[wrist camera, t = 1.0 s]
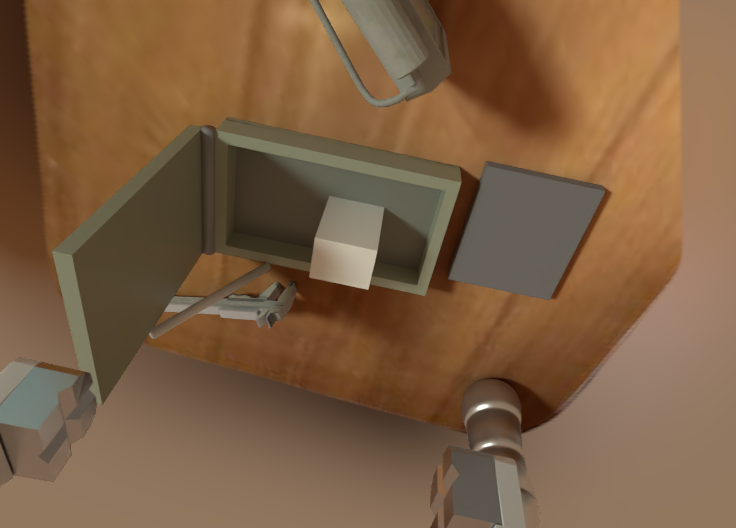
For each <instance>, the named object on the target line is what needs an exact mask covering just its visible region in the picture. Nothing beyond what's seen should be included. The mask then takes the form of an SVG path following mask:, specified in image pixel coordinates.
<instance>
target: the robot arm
mask: <svg viewBox="0 0 736 528" xmlns="http://www.w3.org/2000/svg"><path fill="white" fill-rule="evenodd" d="M92 384H93V380H92V376H91V373H89V372H84V371H80V370H75V369H71V368H67V367H62V366H58V365H53V364H49V363H45V362H41V361H36V360H31V359H26V358H21V357H19V358H18V359H16V360H14V361H12V362H11V363H10V364H9V365H8V366H7V367H6V368H5V369H4V370H3V371H2V372H1V373H0V486H2V485H3V484H5V483H6V482H8V481H9V480H11V479H12V478H13V475H15V476H21V477H27V478H33V479H38V480H44V481H50V482H54V481H55V479H56V478H57V476H58V475H59V473H60V472H61V470H62V469H63V467H64V466H65V464H66V463H67V461H68V460H69V458H70V457H71V455H72V452H71V444H73V443H74V442H76V441H78V440H80V439H81V438H83V437H84V436H85V434H86V433H87V431H88V430H89V428H90V426H91V424H92V422H93V419H94V416H95V414H96V406H97V402H96V396H95V395H94V394H93V393H92V392H91V391H90V390H89V388H90V387H91V385H92ZM430 508H431V509H432V511H433V513H434V514H435V516H436V517H435V519H434V521H433V523H432V525H431V527H430V528H527V526H526V520H525V514H524V508H523V502H522V496H521V490H520V483H519V477H518V471H517V465H516V463H515V461H514V459H512V458H507V457H502V456H497V455H491V454H490V453H485V452H480V451H474V450H469V449H464V448H459V447H453V446H448V447H446V449H445V451H444V453H443V464H441V465H439V466H437V468H436V471H435V473H434V476H433V481H432V485H431V496H430Z"/></svg>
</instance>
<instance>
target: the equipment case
mask: <svg viewBox="0 0 736 528" xmlns="http://www.w3.org/2000/svg"><path fill="white" fill-rule="evenodd" d="M461 183H462V181H461V172H460V167H458V166H454V165H449V164H444V163H440V162H435V161H430V160H426V159H421V158H416V157H412V156H407V155H402V154H398V153H393V152H388V151H384V150H379V149H374V148H370V147H365V146H360V145H356V144H351V143H346V142H342V141H337V140H332V139H328V138H323V137H318V136H314V135H309V134H304V133H300V132H295V131H290V130H286V129H281V128H276V127H272V126H267V125H262V124H258V123H253V122H248V121H244V120H239V119H234V118H230V117H227V118H226V119H225V121H224V122H223V123H222V124H221V125H220V126H219V127H218V128H217V129H216V128H215V127H213V126H209V125H204V126H201V127H199V126H194V125H190V126H189V127H187V128H186V129H185V130H184V131H183V132H182V133H181V134H180V135H179V136H178V137H177V138H175V139H174V140H173V141H172V142H171V143H170V144H169V145H168V146H167V147H166V148H164V149H163V150H162V151H161V152H160V153H159V154H158V155H157V156H156V157H155V158H154V159H152V160H151V161H150V162H149V163H148V164H147V165H146V166H145V167H144V168H143V169H142V170H140V171H139V172H138V173H137V174H136V175H135V176H134V177H133V178H132V179H131V180H129V181H128V182H127V183H126V184H125V185H124V186H123V187H122V188H121V189H120V190H119V191H117V192H116V193H115V194H114V195H113V196H112V197H111V198H110V199H109V200H108V201H107V202H105V203H104V204H103V205H102V206H101V207H100V208H99V209H98V210H97V211H96V212H94V213H93V214H92V215H91V216H90V217H89V218H88V219H87V220H86V221H85V222H84V223H82V224H81V225H80V226H79V227H78V228H77V229H76V230H75V231H74V232H73V233H72V234H70V235H69V236H68V237H67V238H66V239H65V240H64V241H63V242H62V243H61V244H60V245H58V246H57V247H56V248H55V249H54V250H53V251H52V252H53V257H54V261H55V265H56V270H57V274H58V278H59V283H60V287H61V291H62V296H63V300H64V305H65V309H66V313H67V318H68V322H69V326H70V331H71V335H72V339H73V343H74V348H75V352H76V357H77V361H78V365H79V369H80V371H84V372H89V373H91V376H92V380H93V384H92V385H91V387H90V388H89V390H90V391H91V392H92V393H93V394H94V395H95V396H96V402H97V404H99V405H103V403H104V402H105V400H106V399H107V397H108V396H109V394H110V393H111V391H112V390H113V388H114V387H115V385H116V384H117V382H118V380H119V379H120V377H121V376H122V374H123V373H124V371H125V370H126V368H127V367H128V365H129V364H130V362H131V361H132V359H133V358H134V356H135V355H136V353H137V352H138V350H139V348H140V347H141V345H142V344H143V343H144V341H145V340H146V338H147V336H148V335H150V337H151V338H152V339H155V338H157V337H159V336H160V335H162V334H164V333H165V332H167V331H169V330H170V329H172V328H174V327H175V326H177V325H179V324H180V323H182V322H184V321H185V320H187V319H189V318H190V317H192V316H194V315H195V314H197V313H199V312H201V311H202V310H204V309H206V308H207V307H209V306H211V305H212V304H214V303H216V302H217V301H219V300H221V299H222V298H224V297H226V296H227V295H229V294H231V293H232V292H234V291H236V290H237V289H239V288H241V287H242V286H244V285H246V284H247V283H249V282H251V281H253V280H254V279H256V278H258V277H259V276H261V275H263V274H264V273H266V272H268V271H269V270H271V266H270V265H269V263H270V264H275V265H279V266H284V267H289V268H294V269H299V270H303V271H308V272H310V268H311V261H312V254H313V247H314V240H315V236H316V233H317V230H318V227H319V224H320V221H321V219H322V216H323V213H324V210H325V207H326V204H327V202H328V199H329V196H333V197H338V198H343V199H347V200H352V201H357V202H361V203H366V204H371V205H376V206H380V207H384V213H383V219H382V226H381V232H380V238H379V245H378V251H377V255H376V259H375V264H374V268H373V272H372V276H371V281H370V284H371V285H375V286H380V287H385V288H390V289H395V290H399V291H404V292H409V293H414V294H419V295H423V296H425V295H426V291H427V288H428V285H429V282H430V279H431V276H432V273H433V270H434V267H435V264H436V260H437V257H438V254H439V251H440V248H441V245H442V242H443V239H444V236H445V233H446V230H447V226H448V223H449V220H450V217H451V214H452V211H453V208H454V205H455V202H456V199H457V195H458V192H459V189H460V186H461ZM215 252H217V253H222V254H227V255H231V256H236V257H241V258H246V259H251V260H255V261H260V262H265V263H264V264H263V265H261V266H259V267H257V268H256V269H254V270H252V271H250V272H249V273H247V274H245V275H243V276H242V277H240V278H238V279H236V280H235V281H233V282H231V283H230V284H228V285H226V286H224V287H223V288H221V289H219V290H217V291H216V292H214V293H212V294H210V295H209V296H207V297H205V298H203V299H202V300H200V301H198V302H197V303H195V304H193V305H191V306H190V307H188V308H186V309H184V310H183V311H181V312H179V313H177V314H176V315H174V316H172V317H171V318H169V319H167V320H165V321H164V322H162V323H160V324H158V325H157V326H155V324H156V323H157V321H158V320H159V318H160V317H161V315H162V314H163V312H164V311H165V309H166V308H167V306H168V305H169V303H170V302H171V300H172V298H173V297H174V295H175V294H176V292H177V291H178V289H179V288H180V286H181V285H182V283H183V282H184V280H185V279H186V277H187V276H188V274H189V273H190V271H191V270H192V268H193V267H194V265H195V264H196V262H197V260H198V259H199V257H200V256H201V254H202V253H204V254H207V255H210V254H214V253H215ZM154 326H155V327H154Z"/></svg>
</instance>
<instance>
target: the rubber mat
mask: <svg viewBox="0 0 736 528" xmlns="http://www.w3.org/2000/svg"><path fill="white" fill-rule="evenodd" d="M605 192H606V191H605V189H604V188H603V186H601V185H596V184H591V183H587V182H582V181H577V180H573V179H568V178H563V177H559V176H554V175H549V174H545V173H540V172H535V171H531V170H526V169H521V168H517V167H512V166H507V165H503V164H498V163H493V162H489V161H487V162H486V164H485V167H484V170H483V173H482V176H481V179H480V182H479V185H478V188H477V190H476V193H475V196H474V199H473V202H472V205H471V208H470V211H469V214H468V216H467V219H466V222H465V225H464V228H463V231H462V234H461V237H460V240H459V243H458V245H457V248H456V251H455V254H454V257H453V260H452V263H451V266H450V269H449V271H448V279H450V280H455V281H459V282H464V283H469V284H474V285H478V286H483V287H488V288H493V289H498V290H502V291H507V292H512V293H517V294H522V295H526V296H531V297H536V298H541V299H545V300H550V298H551V296H552V294H553V292H554V291H555V289H556V287H557V285H558V283H559V281H560V279H561V277H562V275H563V273H564V271H565V269H566V267H567V265H568V263H569V261H570V260H571V258H572V256H573V254H574V252H575V250H576V248H577V246H578V244H579V242H580V240H581V238H582V236H583V234H584V232H585V230H586V229H587V227H588V225H589V223H590V221H591V219H592V217H593V215H594V213H595V211H596V209H597V207H598V205H599V203H600V201H601V200H602V198H603V196H604V194H605Z"/></svg>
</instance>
